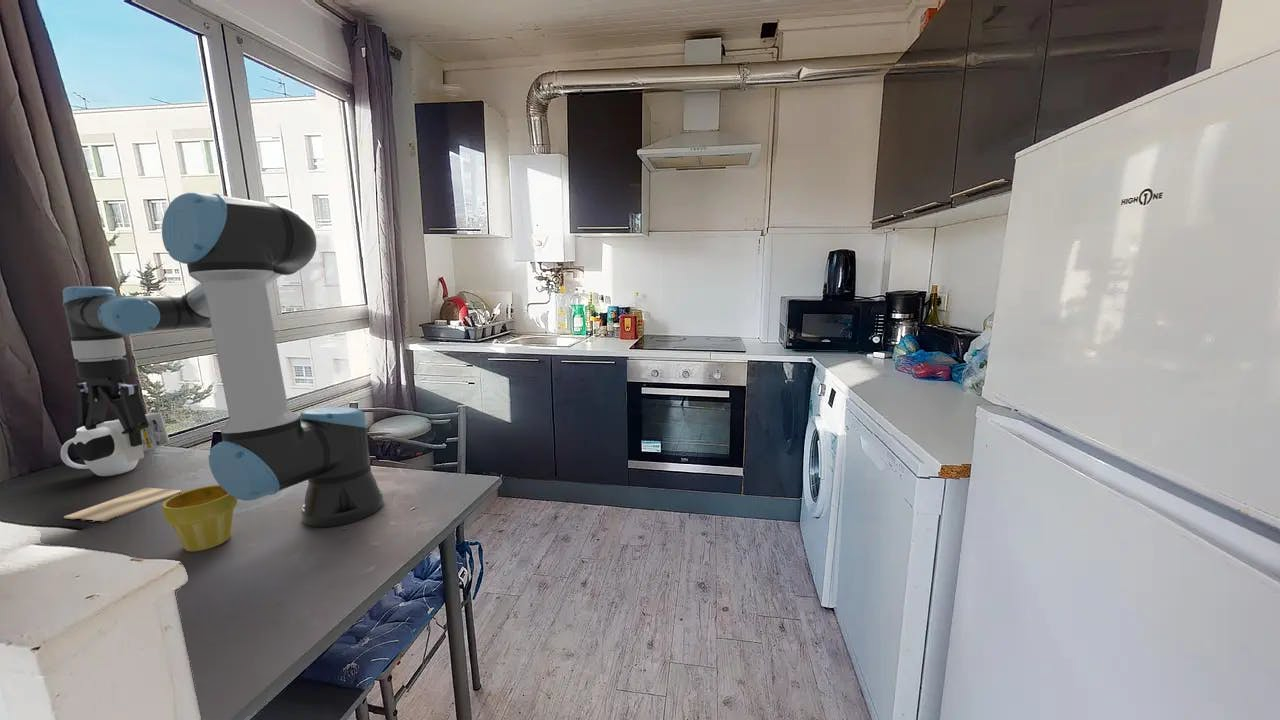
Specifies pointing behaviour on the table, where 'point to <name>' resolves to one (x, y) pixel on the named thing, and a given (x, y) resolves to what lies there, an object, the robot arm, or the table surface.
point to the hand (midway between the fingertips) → (119, 458)
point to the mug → (99, 461)
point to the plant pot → (201, 517)
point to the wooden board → (123, 504)
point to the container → (118, 438)
